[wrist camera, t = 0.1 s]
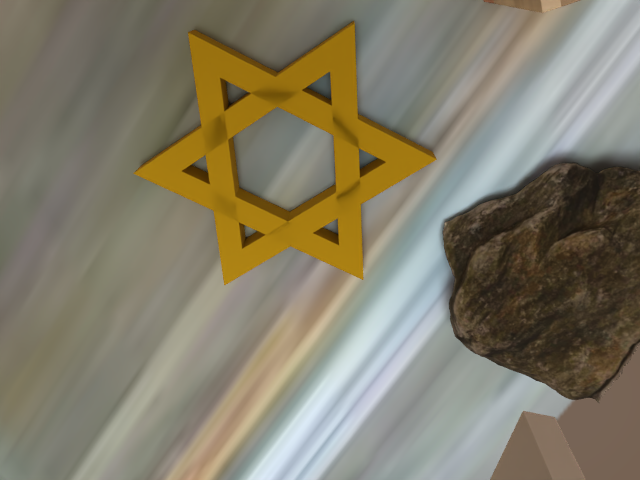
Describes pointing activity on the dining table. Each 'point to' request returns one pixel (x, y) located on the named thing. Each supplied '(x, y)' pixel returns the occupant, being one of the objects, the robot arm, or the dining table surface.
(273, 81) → the star of david
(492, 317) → the rock
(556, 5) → the sleeve
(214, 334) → the dining table surface
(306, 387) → the dining table surface
